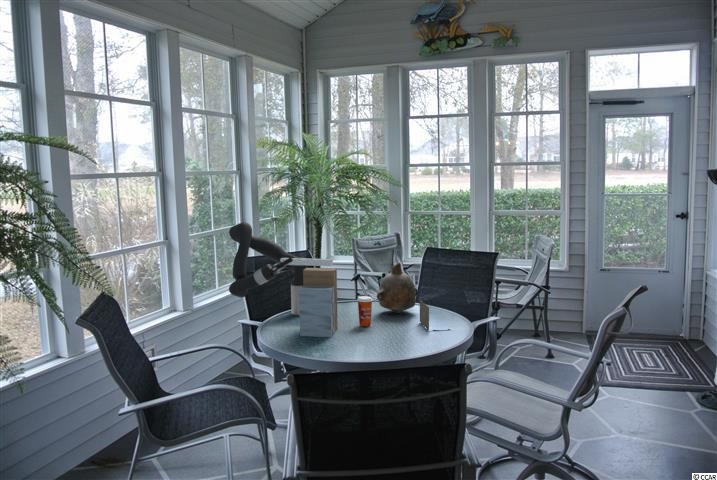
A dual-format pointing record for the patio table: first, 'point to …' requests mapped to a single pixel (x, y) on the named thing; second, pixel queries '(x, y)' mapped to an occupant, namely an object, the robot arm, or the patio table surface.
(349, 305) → the patio table surface
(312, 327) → the display riser
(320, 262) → the aluminium bar
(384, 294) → the jug
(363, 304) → the coffee cup
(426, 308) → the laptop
